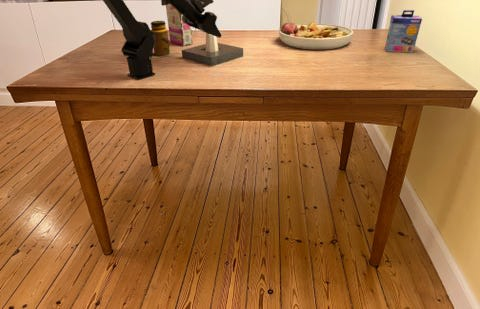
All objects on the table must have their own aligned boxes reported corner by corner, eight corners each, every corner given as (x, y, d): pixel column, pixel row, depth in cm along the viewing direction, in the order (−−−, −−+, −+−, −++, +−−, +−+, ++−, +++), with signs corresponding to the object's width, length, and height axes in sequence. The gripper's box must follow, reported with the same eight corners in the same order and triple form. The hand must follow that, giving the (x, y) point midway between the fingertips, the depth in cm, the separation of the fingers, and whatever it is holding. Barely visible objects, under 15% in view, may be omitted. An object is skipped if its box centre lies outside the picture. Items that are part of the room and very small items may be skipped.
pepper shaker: (222, 58, 123) (221, 26, 117) (209, 60, 121) (207, 28, 115) (215, 54, 127) (213, 24, 121) (202, 57, 125) (200, 26, 119)
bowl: (344, 35, 152) (347, 16, 148) (357, 52, 127) (361, 30, 123) (278, 34, 155) (279, 16, 151) (278, 51, 130) (279, 30, 126)
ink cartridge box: (386, 52, 125) (394, 10, 118) (383, 48, 130) (391, 8, 122) (414, 53, 124) (424, 10, 116) (411, 49, 128) (420, 8, 121)
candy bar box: (193, 44, 142) (189, 2, 133) (183, 46, 139) (178, 3, 131) (179, 40, 149) (174, 0, 141) (169, 42, 146) (164, 1, 138)
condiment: (174, 55, 128) (170, 22, 122) (153, 58, 124) (147, 24, 118) (166, 51, 134) (162, 19, 127) (146, 54, 130) (140, 21, 123)
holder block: (212, 66, 114) (211, 57, 113) (182, 58, 124) (181, 50, 122) (243, 56, 124) (243, 48, 123) (213, 49, 134) (213, 41, 132)
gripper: (209, -15, 103) (241, 19, 113) (186, -19, 116) (216, 12, 127) (188, 15, 103) (221, 46, 114) (167, 8, 117) (199, 36, 128)
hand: (214, 34), depth 120 cm, fingers open, 9 cm apart
